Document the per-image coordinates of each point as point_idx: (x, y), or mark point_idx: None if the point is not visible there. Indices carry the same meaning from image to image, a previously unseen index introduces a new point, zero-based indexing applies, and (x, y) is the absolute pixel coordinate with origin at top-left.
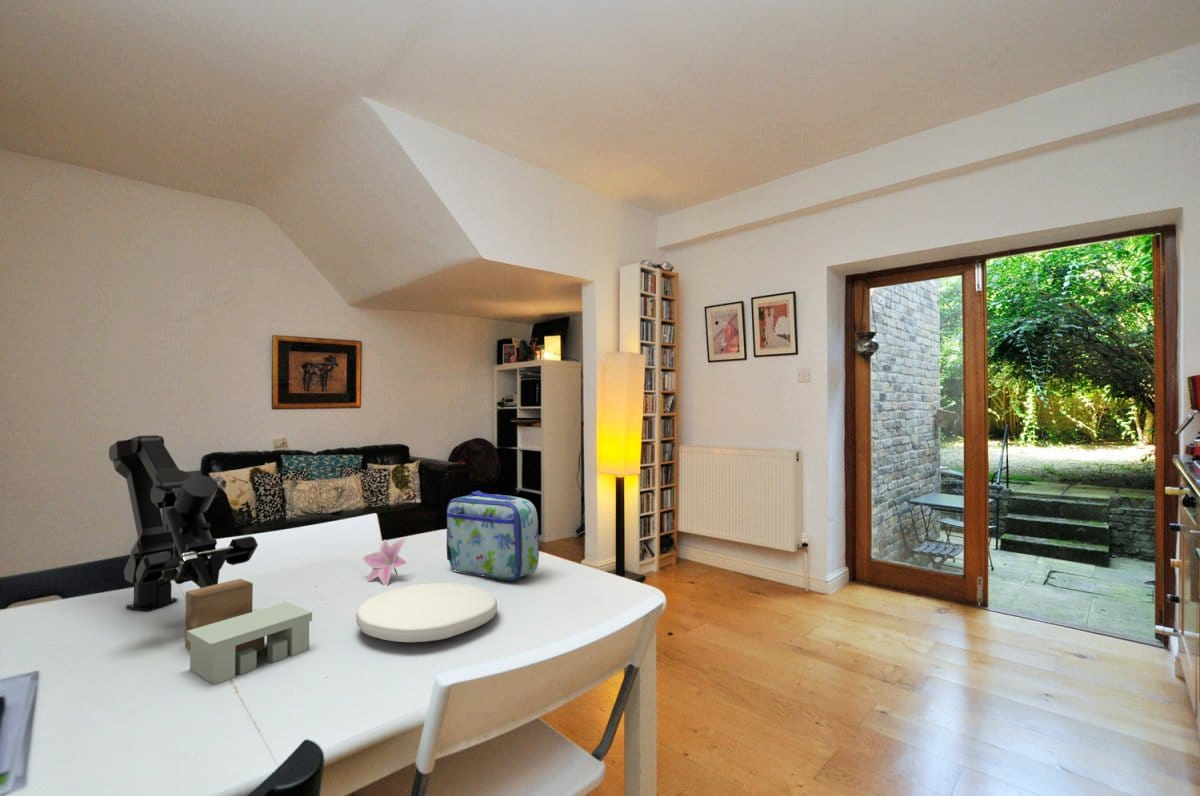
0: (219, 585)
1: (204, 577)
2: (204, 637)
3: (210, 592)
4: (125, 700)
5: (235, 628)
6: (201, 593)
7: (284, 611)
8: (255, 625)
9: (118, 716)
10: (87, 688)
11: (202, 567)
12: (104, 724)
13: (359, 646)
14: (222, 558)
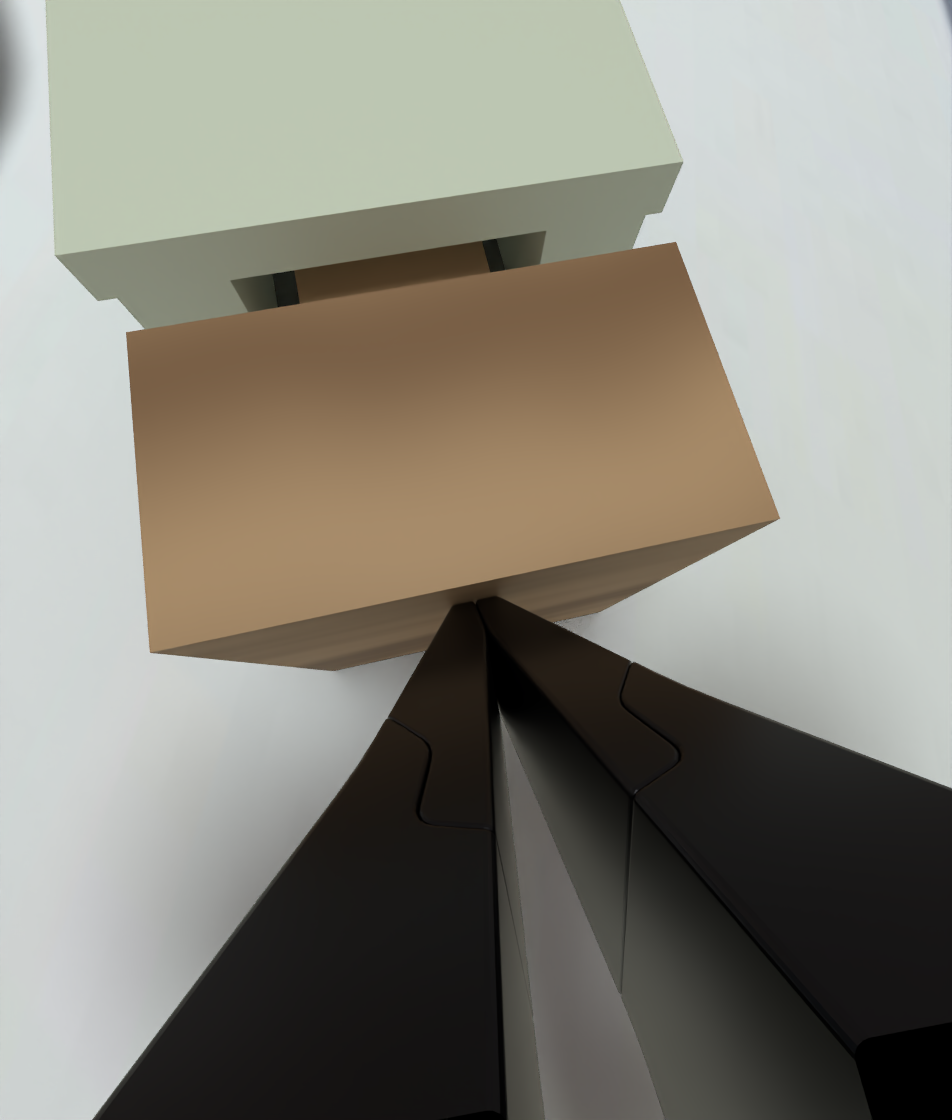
0: (434, 506)
1: (609, 655)
2: (609, 18)
3: (557, 298)
4: (791, 226)
5: (457, 33)
6: (636, 328)
7: (152, 100)
8: (362, 9)
9: (798, 137)
10: (927, 413)
11: (714, 764)
12: (826, 116)
13: (32, 106)
14: (142, 1059)
